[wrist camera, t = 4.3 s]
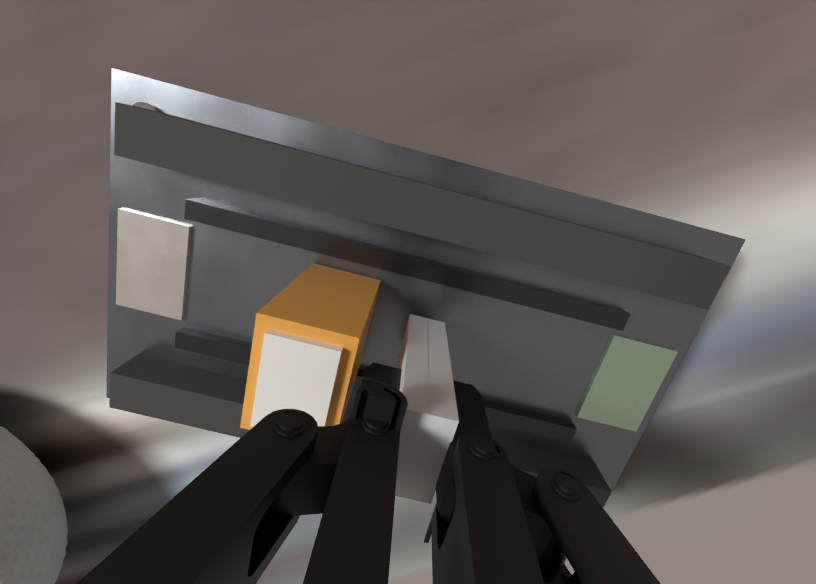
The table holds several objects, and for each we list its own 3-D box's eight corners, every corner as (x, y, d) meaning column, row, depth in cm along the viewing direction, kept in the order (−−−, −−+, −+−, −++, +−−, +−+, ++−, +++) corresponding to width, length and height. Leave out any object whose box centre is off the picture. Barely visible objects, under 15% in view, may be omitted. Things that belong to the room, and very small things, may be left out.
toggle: (312, 262, 17) (252, 316, 11) (380, 280, 17) (357, 342, 11) (297, 344, 18) (235, 433, 12) (361, 360, 18) (331, 456, 12)
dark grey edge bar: (138, 353, 19) (109, 372, 17) (595, 463, 20) (611, 491, 18) (137, 385, 19) (109, 407, 17) (581, 490, 20) (596, 520, 18)
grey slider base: (161, 84, 18) (99, 64, 14) (696, 228, 19) (757, 242, 15) (146, 367, 22) (96, 404, 19) (578, 470, 23) (605, 522, 20)
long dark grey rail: (149, 109, 15) (115, 101, 14) (698, 255, 16) (731, 266, 15) (147, 156, 16) (114, 154, 14) (678, 295, 17) (708, 310, 15)
